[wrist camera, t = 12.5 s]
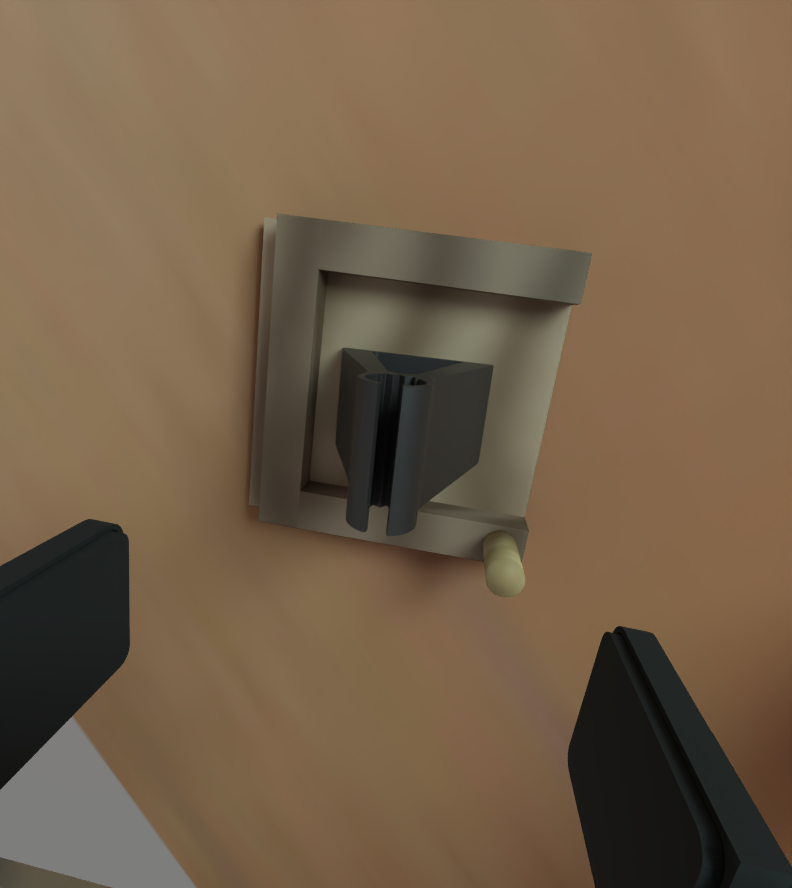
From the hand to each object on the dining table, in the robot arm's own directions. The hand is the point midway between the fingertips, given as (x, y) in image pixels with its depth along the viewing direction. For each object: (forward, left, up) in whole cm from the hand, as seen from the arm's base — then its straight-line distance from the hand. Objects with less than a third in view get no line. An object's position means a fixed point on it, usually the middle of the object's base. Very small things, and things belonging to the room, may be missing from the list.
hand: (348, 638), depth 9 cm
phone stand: (+1, -1, -22) cm, 22 cm away
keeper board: (+2, -1, -23) cm, 23 cm away
